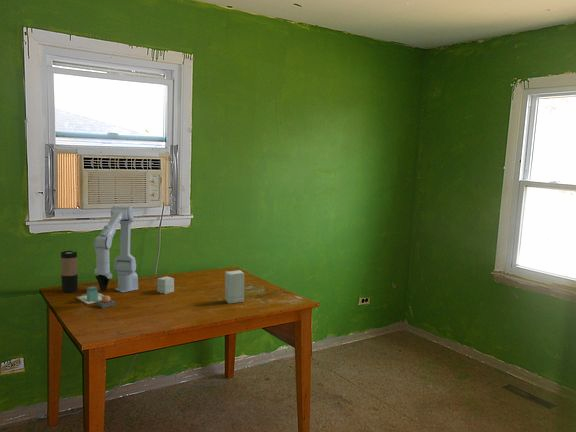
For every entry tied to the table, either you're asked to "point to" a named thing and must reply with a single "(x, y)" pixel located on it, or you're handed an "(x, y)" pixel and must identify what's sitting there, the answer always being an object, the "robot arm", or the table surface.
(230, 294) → the skincare box
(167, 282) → the skincare box
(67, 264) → the travel mug
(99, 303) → the button housing
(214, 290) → the table surface
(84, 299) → the clipboard with paper sheet
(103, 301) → the button
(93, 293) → the teal banded box
